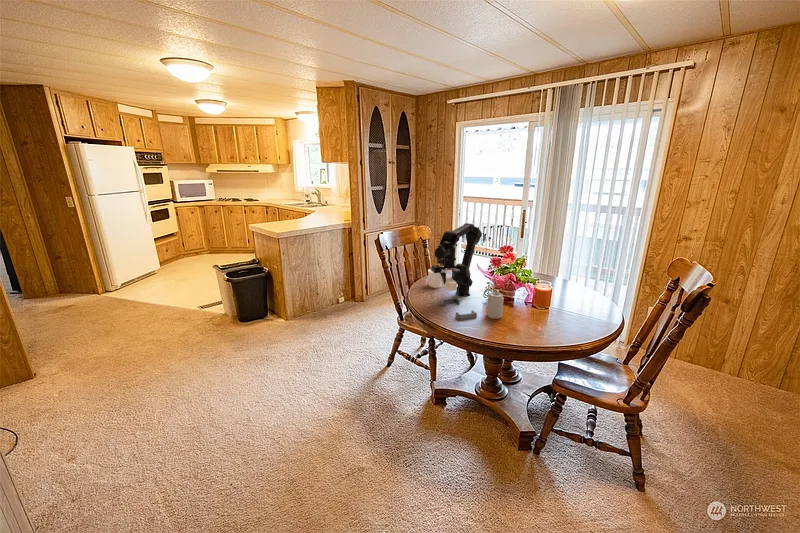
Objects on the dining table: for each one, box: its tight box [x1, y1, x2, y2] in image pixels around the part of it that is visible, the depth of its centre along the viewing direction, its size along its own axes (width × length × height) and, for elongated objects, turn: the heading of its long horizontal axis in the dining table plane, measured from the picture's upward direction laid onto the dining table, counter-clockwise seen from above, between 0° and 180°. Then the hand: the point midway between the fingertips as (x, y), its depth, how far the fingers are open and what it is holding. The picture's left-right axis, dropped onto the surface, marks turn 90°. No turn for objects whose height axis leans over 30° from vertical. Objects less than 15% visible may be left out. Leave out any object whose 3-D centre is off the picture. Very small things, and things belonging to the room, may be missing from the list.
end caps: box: [439, 297, 478, 321], centre depth 172 cm, size 10×22×2 cm, turn 18°
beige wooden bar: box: [441, 273, 458, 291], centre depth 179 cm, size 4×16×4 cm, turn 9°
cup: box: [427, 268, 444, 289], centre depth 208 cm, size 10×10×10 cm
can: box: [486, 291, 505, 320], centre depth 164 cm, size 8×8×12 cm
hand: (448, 283), depth 179 cm, fingers closed on beige wooden bar, 4 cm apart
